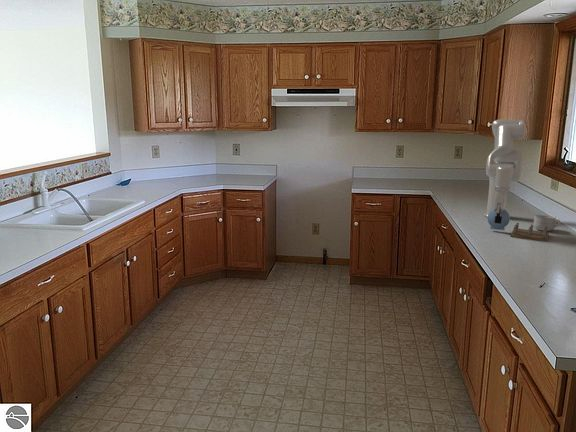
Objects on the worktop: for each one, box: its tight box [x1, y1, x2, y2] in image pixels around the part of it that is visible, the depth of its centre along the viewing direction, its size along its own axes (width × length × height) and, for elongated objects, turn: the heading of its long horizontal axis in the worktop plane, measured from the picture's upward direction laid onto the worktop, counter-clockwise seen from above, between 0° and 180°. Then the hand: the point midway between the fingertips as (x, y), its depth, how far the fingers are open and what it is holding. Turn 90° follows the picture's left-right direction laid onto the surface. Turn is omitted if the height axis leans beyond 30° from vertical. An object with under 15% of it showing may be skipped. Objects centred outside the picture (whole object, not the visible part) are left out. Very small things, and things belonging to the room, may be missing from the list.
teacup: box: [533, 214, 561, 232], centre depth 269 cm, size 14×11×8 cm
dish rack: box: [510, 222, 550, 242], centre depth 258 cm, size 15×17×5 cm
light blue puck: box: [487, 209, 511, 231], centre depth 265 cm, size 2×11×12 cm, turn 59°
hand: (498, 222), depth 266 cm, fingers closed on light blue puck, 2 cm apart
